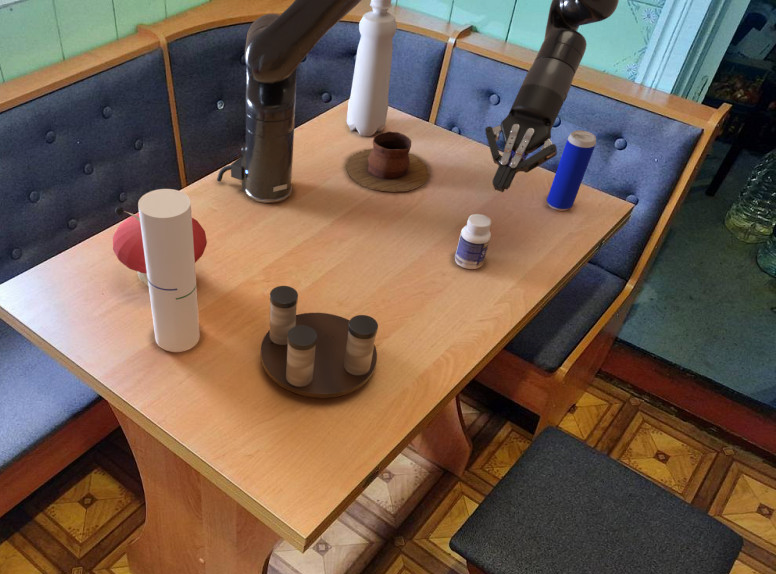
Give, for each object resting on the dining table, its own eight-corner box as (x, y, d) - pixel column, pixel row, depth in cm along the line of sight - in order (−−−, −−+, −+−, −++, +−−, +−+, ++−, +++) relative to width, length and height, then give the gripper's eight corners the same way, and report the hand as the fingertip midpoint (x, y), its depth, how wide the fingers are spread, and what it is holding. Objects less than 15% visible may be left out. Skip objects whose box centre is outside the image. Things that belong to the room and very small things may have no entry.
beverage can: (572, 200, 149) (598, 132, 138) (571, 214, 145) (597, 145, 134) (546, 195, 150) (570, 127, 139) (544, 208, 146) (568, 139, 135)
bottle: (363, 115, 172) (379, -23, 150) (393, 129, 168) (414, -11, 146) (337, 127, 167) (350, -13, 146) (367, 142, 163) (385, 0, 141)
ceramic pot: (434, 194, 149) (441, 163, 144) (348, 191, 149) (351, 160, 144) (423, 150, 161) (429, 120, 156) (343, 147, 161) (346, 117, 156)
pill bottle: (482, 271, 131) (495, 230, 125) (453, 267, 132) (464, 226, 126) (483, 254, 135) (494, 213, 129) (454, 250, 136) (464, 209, 129)
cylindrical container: (155, 322, 119) (139, 189, 101) (199, 321, 120) (190, 188, 102) (154, 353, 114) (136, 218, 96) (200, 351, 115) (190, 217, 97)
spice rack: (284, 410, 105) (286, 364, 98) (245, 330, 116) (245, 284, 110) (396, 381, 109) (406, 335, 103) (347, 307, 121) (353, 261, 114)
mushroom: (196, 244, 135) (192, 172, 124) (218, 297, 124) (216, 223, 114) (111, 259, 131) (99, 185, 120) (127, 314, 121) (115, 239, 110)
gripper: (502, 74, 121) (458, 170, 122) (581, 93, 116) (534, 193, 117) (507, 94, 128) (465, 186, 129) (581, 113, 123) (537, 208, 124)
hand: (498, 189), depth 123 cm, fingers closed
